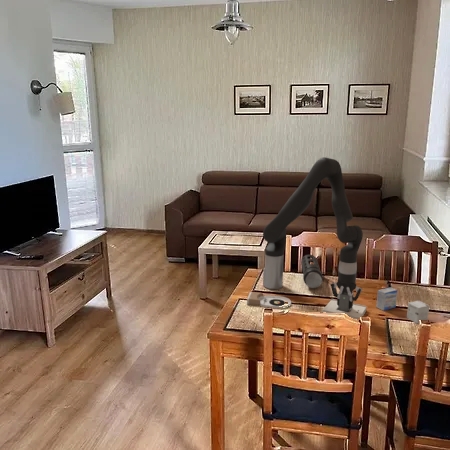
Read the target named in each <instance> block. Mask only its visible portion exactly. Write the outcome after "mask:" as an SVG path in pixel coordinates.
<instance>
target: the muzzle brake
mask: <svg viewBox="0 0 450 450" xmlns="http://www.w3.org/2000/svg"><path fill="white" fill-rule="evenodd" d="M300 261H301V262H300V263H301V264H300V265H301V270H302V276H303V282H304V285H306V286H307V287H309V288H311V289H316V288H319V287H320V286H321V285H322V284H323V281H324V276H323V274H322V272H321V269H320V265H319V262H318V259H317V257H316V256H314V255H313V254H305V255H304V256H303V257H302V258H301V259H300Z"/></svg>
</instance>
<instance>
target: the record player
mask: <svg viewBox="0 0 450 450" xmlns="http://www.w3.org/2000/svg"><path fill="white" fill-rule="evenodd" d="M285 301H287V302H288V305H287V306H289V305H292V300H291V299H290V298H288V297H286V296H279V295H270V294H269V295H268V294H266V295H264V293H263V292H255V291H249V294H248V296H247V298H246V305H250V306H258V305H260V306H261V307H262V306H263V307H262V308H267V307H273V308H272V309H277V308H283V307H287V306H282V305H284V304H285ZM260 306H259V307H260ZM279 306H282V307H279ZM289 307H290V306H289ZM283 309H284V308H283Z"/></svg>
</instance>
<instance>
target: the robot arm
mask: <svg viewBox="0 0 450 450" xmlns="http://www.w3.org/2000/svg"><path fill="white" fill-rule="evenodd" d="M343 177H344V176H343V171H342V167H341V164H340V162H339V161H338V160H337V159H333V158H330V157H320V158H318V159H317V160H316V162H314V164H313V166H312V167H311V168H310V170H309V172H308V174H307V175H306V177H305V178H304V179H303V180H302V182H301V183H300V185H299V186H298V187H297V188H296V190H295V191H294V192H293V193H292V195H290V197H289V198H288V200H287V201H286V202H285V204H284V205H283V206H282V208H281V209H280V210H279V212H278V214H276V216H275V217H273V219H272V220H271V221H270V222H269V223H268V224H267V225H266V226H265V227H264V229H263V231H262V237H263V239H264V241H265V242H267V243H268V244H267V246H266V247H265V251H264V254H265V255H264V268H263V269H262V287H265V288H266V289H269V290H280V289H282V288H283V286H284V285H283V284H284V283H283V282H284V281H283V280H284V279H283V278H284V258H285V257H284V256H285V255H284V253H285V249H286V243H287V227H288V226H289V225H290V224H291V223H293V222H294V221H295V220H296V219H298V218H299V217H300V216H301V215H302V214H303V213H304V212H305V211H306V210H307V208H308V207H309V206H310V204H311V203H312V202H313V198H314V197H313V196H314V193H315V190H316V188H317V187H318V185H319V184H320V183H321V182H322V181H323V180H328V182H329V185H330V187H331V193H332V194H331V207H332V210H333V213H334V216H335V220H336V236H337V239H338V240H339V241H340V242H341V243H342V244H347V245H345V246H343V247H341V249H340V252H339V263H338V271H337V272H338V273H337V281H336V282H335V281H334V282H331V283H330V289H331V292H332V296H333V298H334V297H335V298H337V299H336V300H337V305H338V307H339V301H340V294H342V293H347V294H348V295H349V300H350V301H349V309H351V308H352V306H353V303H354V302H357V300H358V299H359V297H360V295H361V293H362V291H363V287H359V286H357V283H356V282H357V281H356V278H357V271H358V270H357V267H358V264H357V260H358V259H357V258H358V251H359V249H360V247H361V243H362V241H363V237H364V235H363V230H362V228H361V226H359V225H355V224H354V225H347V223H348V222H349V221H351V220H352V219H353V213H352V210H351V207H350V203H349V201H348V197H347V194H346V189H345V183H344V179H343ZM337 288H338V289H339V291H337ZM354 290H355V292H356V293H355V296H354Z"/></svg>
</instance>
